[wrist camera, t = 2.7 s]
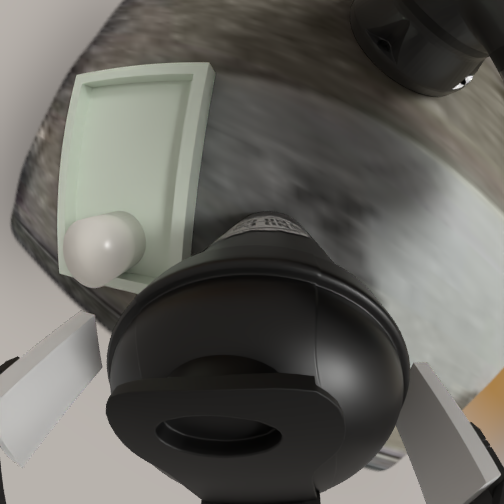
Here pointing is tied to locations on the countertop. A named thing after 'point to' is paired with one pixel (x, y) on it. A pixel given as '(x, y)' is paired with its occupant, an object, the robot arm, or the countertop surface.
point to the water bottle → (257, 369)
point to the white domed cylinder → (103, 247)
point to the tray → (137, 157)
